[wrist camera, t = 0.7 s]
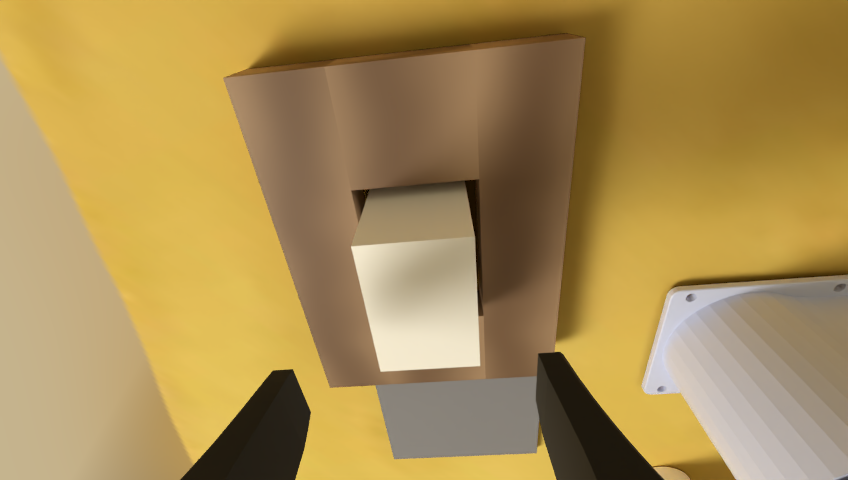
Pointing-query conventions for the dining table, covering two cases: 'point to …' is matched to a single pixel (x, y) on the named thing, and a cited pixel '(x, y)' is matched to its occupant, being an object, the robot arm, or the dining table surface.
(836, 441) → the robot arm
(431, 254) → the plug
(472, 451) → the mat
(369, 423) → the dining table surface
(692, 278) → the dining table surface
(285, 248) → the block
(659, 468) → the roll
